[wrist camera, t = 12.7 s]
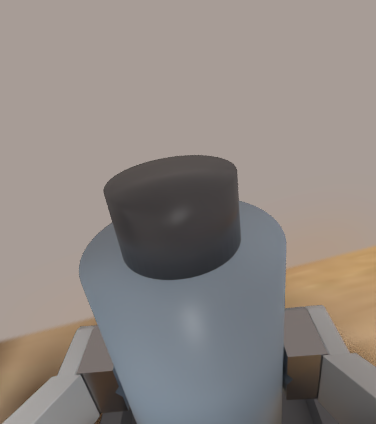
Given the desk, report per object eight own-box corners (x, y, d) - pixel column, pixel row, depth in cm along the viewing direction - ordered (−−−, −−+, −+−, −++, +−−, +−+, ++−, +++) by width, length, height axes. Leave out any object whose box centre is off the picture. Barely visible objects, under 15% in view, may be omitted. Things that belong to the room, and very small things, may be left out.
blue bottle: (164, 563, 10) (2, 258, 4) (167, 417, 14) (89, 158, 8) (297, 550, 9) (337, 213, 4) (262, 407, 13) (254, 135, 8)
